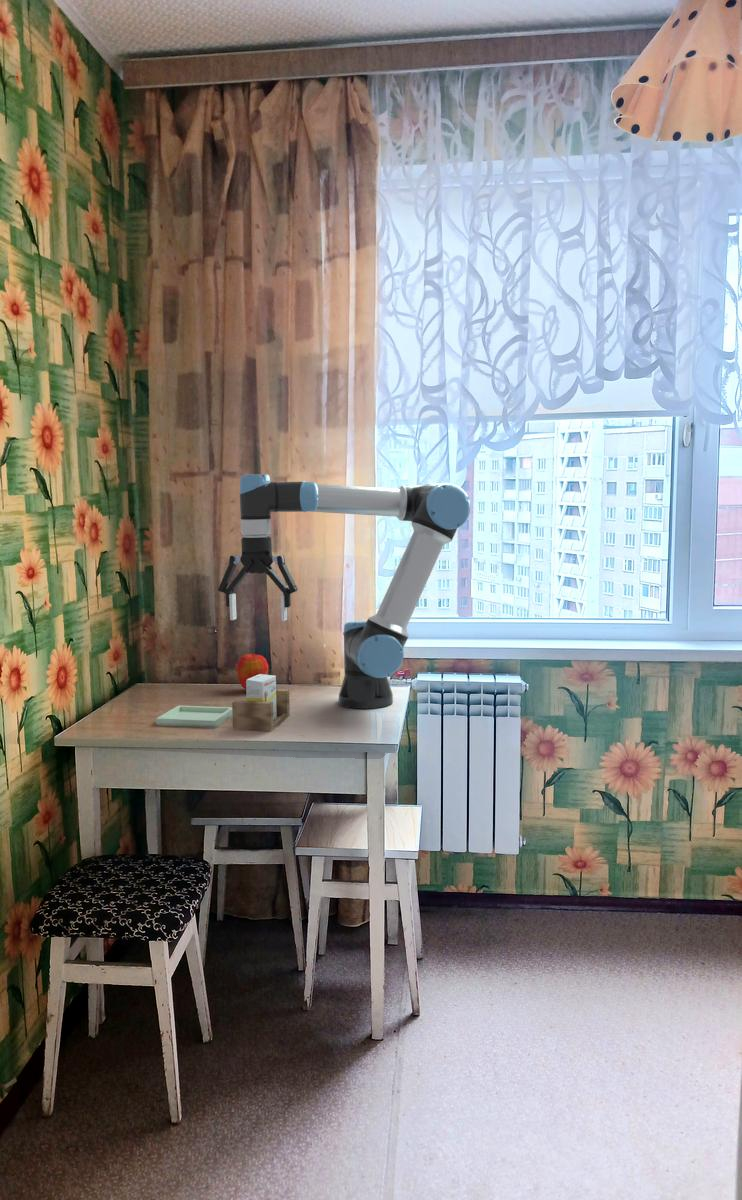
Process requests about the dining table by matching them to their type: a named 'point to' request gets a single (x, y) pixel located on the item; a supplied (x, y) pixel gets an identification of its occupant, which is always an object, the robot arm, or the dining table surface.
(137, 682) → the dining table surface
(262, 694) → the ink box
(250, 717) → the holder
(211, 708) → the tray
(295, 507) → the robot arm
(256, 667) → the apple
